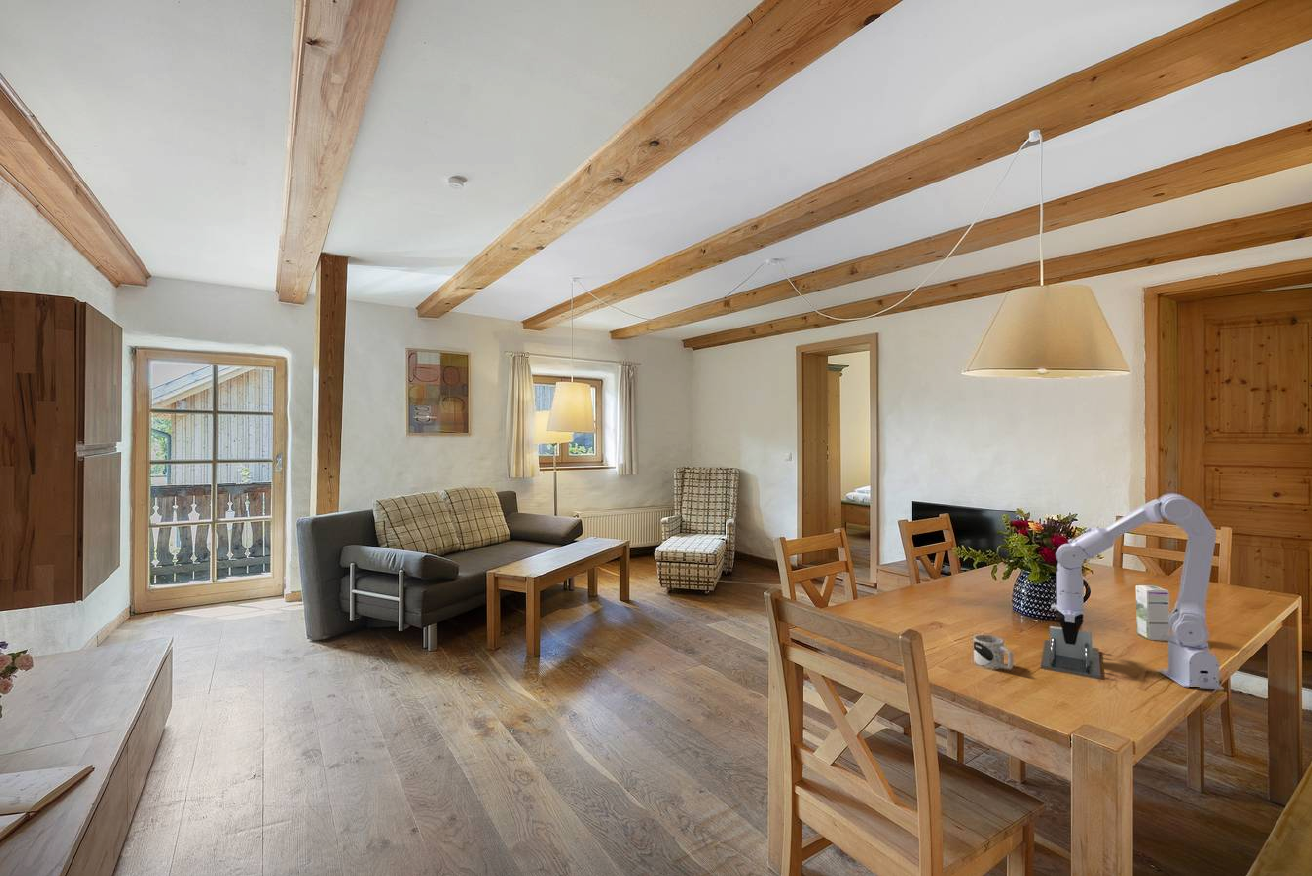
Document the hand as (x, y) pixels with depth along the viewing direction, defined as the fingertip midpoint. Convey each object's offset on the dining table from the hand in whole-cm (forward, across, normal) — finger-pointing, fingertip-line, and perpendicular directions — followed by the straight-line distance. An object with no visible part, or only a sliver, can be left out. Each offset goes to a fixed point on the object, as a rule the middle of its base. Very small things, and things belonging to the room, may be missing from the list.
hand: (1070, 642), depth 152 cm
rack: (+4, 0, 0) cm, 4 cm away
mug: (+5, +17, -16) cm, 23 cm away
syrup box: (+5, -34, +19) cm, 39 cm away
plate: (+4, 0, 0) cm, 4 cm away
